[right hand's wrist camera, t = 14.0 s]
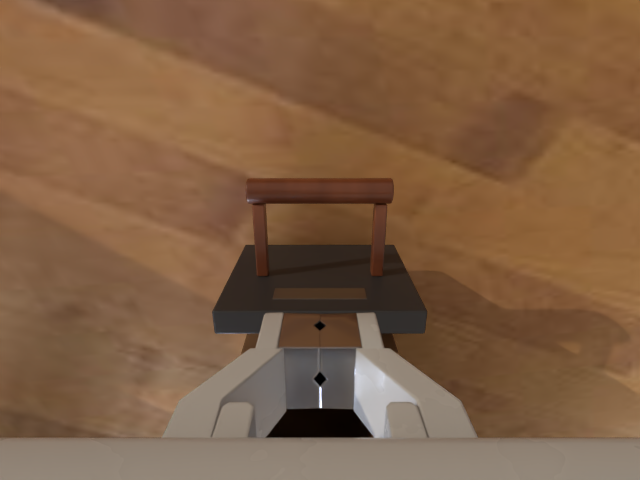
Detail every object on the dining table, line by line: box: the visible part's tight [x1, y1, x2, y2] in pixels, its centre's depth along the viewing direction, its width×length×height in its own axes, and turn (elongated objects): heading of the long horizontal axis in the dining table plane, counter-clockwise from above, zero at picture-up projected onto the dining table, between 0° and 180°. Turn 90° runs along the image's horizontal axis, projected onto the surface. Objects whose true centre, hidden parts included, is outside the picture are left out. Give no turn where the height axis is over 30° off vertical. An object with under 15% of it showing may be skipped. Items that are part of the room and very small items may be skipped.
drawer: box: [212, 178, 427, 438], centre depth 23 cm, size 26×10×8 cm, turn 0°
